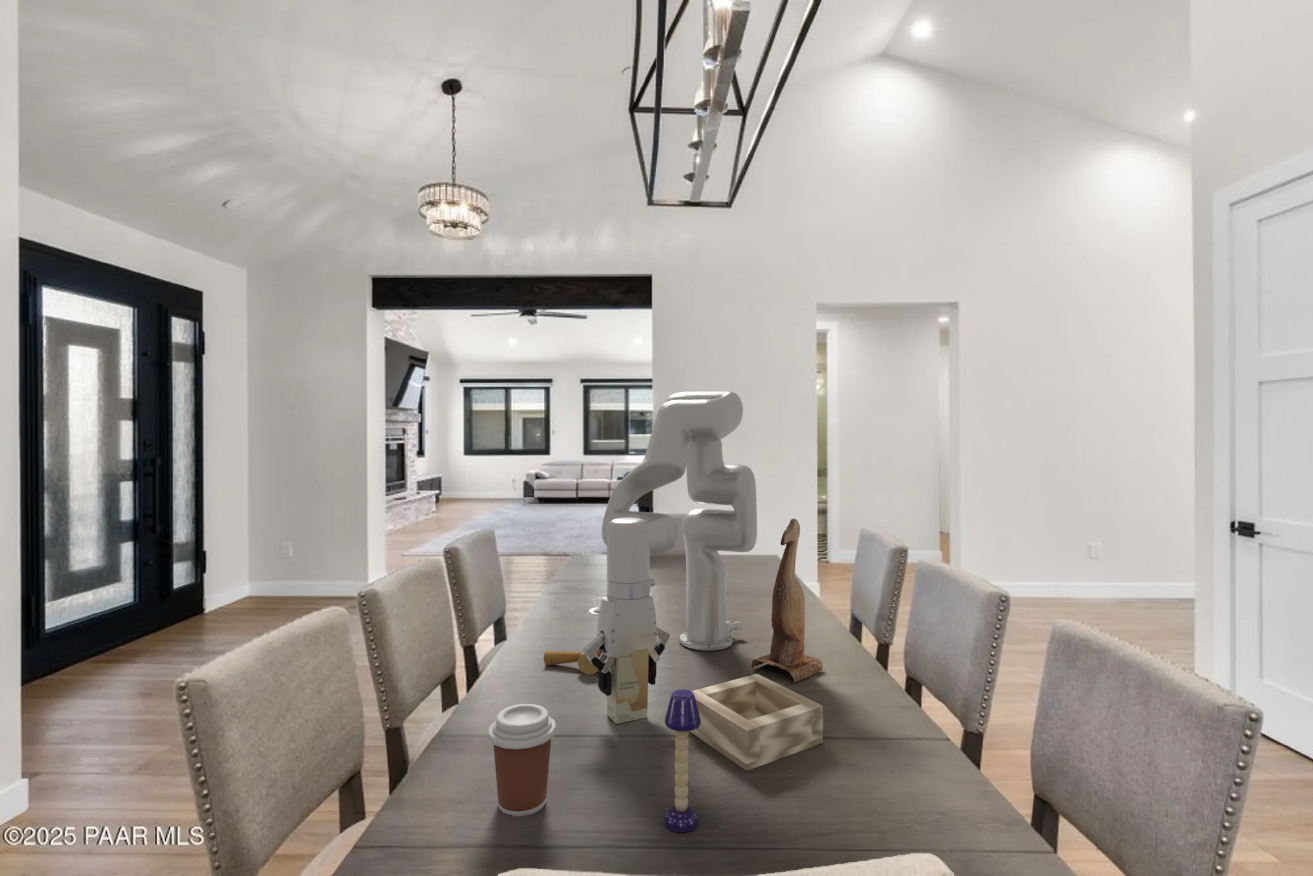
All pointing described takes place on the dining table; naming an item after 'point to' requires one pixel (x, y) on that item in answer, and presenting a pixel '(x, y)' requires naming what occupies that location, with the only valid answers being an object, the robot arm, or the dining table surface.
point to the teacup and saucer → (596, 606)
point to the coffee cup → (522, 757)
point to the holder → (757, 720)
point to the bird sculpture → (789, 615)
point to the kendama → (571, 660)
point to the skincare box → (629, 687)
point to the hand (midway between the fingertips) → (627, 687)
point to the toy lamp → (682, 757)
